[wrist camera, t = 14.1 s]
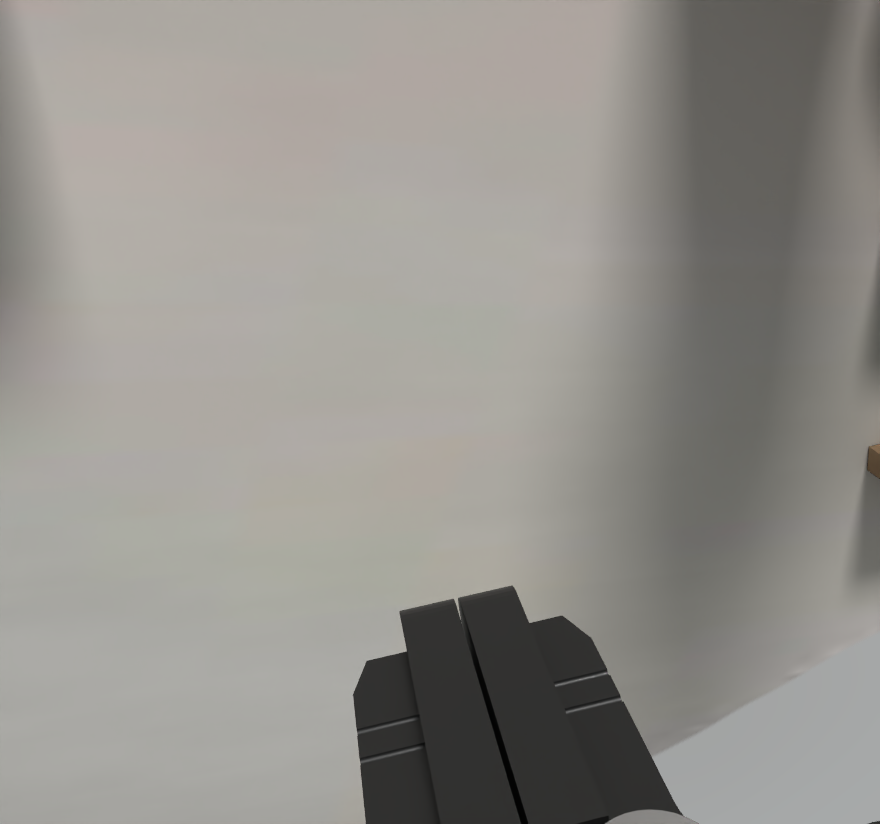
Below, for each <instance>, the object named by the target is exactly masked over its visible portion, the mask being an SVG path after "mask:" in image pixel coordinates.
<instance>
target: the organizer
mask: <svg viewBox="0 0 880 824" xmlns="http://www.w3.org/2000/svg"><path fill="white" fill-rule="evenodd" d="M867 470H868V471H870V472H871V473H872V474H874V475H875V476H876V477H878V478H879V479H880V444H879V445H874V446H870V447H869V455H868V468H867Z"/></svg>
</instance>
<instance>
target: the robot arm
mask: <svg viewBox="0 0 880 824" xmlns="http://www.w3.org/2000/svg"><path fill="white" fill-rule="evenodd" d="M458 603H459V610H460V616H461V620H460V617H459V613H458V610H457V606H456V603H455V600H454V599H450V600H446V601H441V602H437V603H433V604H428V605H424V606H420V607H415V608H411V609H407V610H402V611H400V617H401V622H402V627H403V632H404V638H405V643H406V648H407V652H403V653H399V654H395V655H390V656H386V657H382V658H378V659H373V660H369V661H367V662H366V664H365V667H364V669H363V672H362V674H361V677H360V679H359V681H358V684H357V686H356V689H355V691H354V694H353V697H354V707H355V717H356V727H357V733H358V736H357V737H358V747H359V757H360V763H361V766H360V767H361V777H362V787H363V798H364V808H365V818H366V824H698V823H697V822H695V821H693V820H691V819H689V818H687V817H684V816H683V815H682V813H681V812H680V811H679V809H678V807H677V806H676V804H675V802H674V801H673V799H672V797H671V795H670V793H669V791H668V789H667V787H666V785H665V783H664V781H663V779H662V777H661V775H660V773H659V771H658V769H657V767H656V765H655V763H654V761H653V759H652V757H651V755H650V753H649V751H648V749H647V747H646V745H645V743H644V741H643V739H642V737H641V735H640V733H639V731H638V729H637V727H636V725H635V723H634V722H633V720H632V718H631V716H630V714H629V712H628V710H627V708H626V706H625V704H624V702H622V701H621V697H620V694H619V692H618V690H617V688H616V686H615V684H614V682H613V680H612V678H611V676H610V675H608V672H607V668H606V666H605V664H604V662H603V660H602V658H601V656H600V654H599V652H598V650H597V648H596V646H595V644H594V642H593V640H592V639H591V638H590V637H589V636H588V635H587V634H585V633H584V632H583V631H581V630H580V629H579V628H578V627H576V626H575V625H574V624H572V623H571V622H570V621H569V620H567V619H566V618H565V617H563V616H558V617H554V618H550V619H545V620H541V621H537V622H533V623H529V622H528V619H527V617H526V614H525V612H524V610H523V607H522V605H521V602H520V600H519V597H518V595H517V593H516V590H515V589H514V587H513V586H508V587H504V588H499V589H495V590H490V591H486V592H482V593H477V594H473V595H469V596H464V597H460V598H458ZM461 622H462V623H461ZM869 824H880V821H877V822H872V823H869Z"/></svg>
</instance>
